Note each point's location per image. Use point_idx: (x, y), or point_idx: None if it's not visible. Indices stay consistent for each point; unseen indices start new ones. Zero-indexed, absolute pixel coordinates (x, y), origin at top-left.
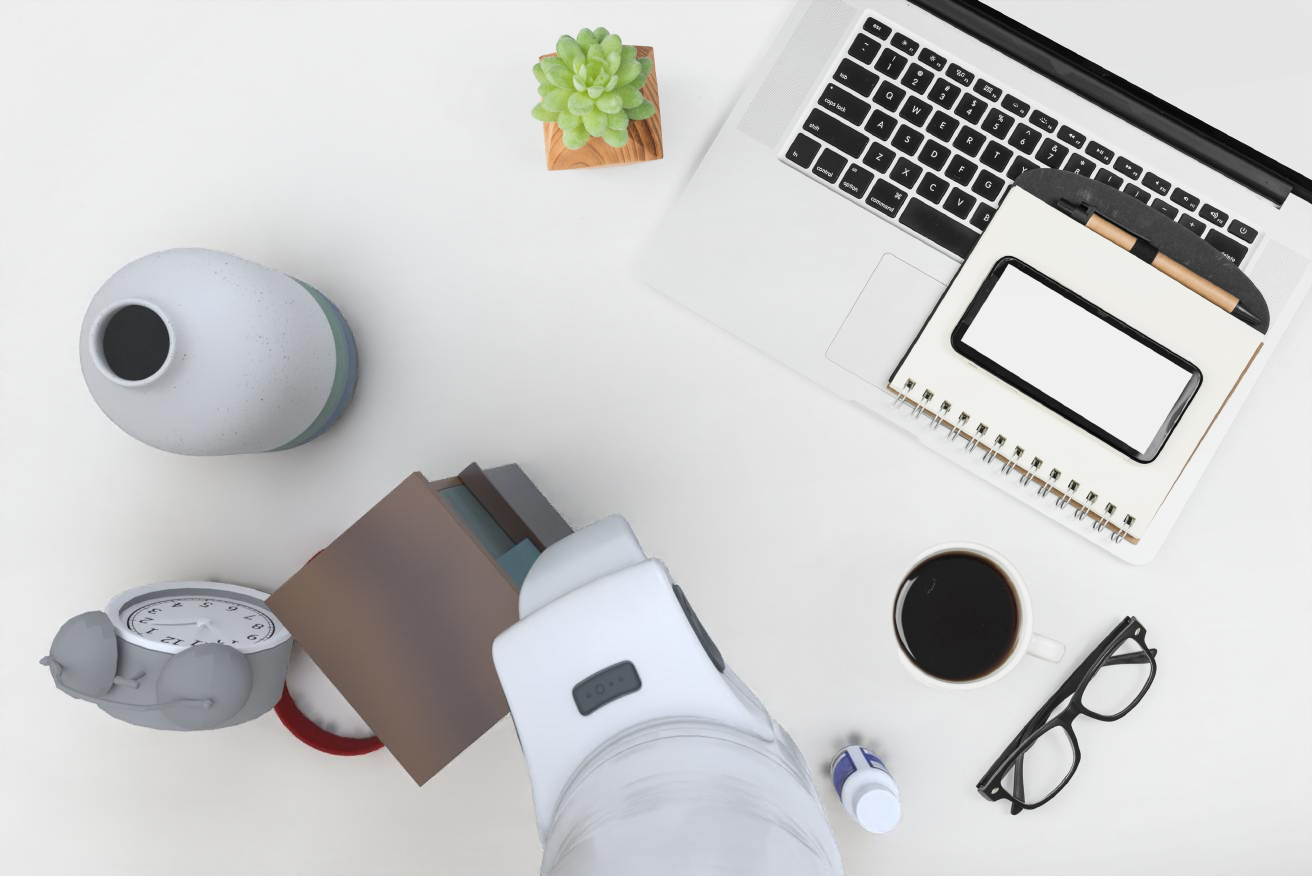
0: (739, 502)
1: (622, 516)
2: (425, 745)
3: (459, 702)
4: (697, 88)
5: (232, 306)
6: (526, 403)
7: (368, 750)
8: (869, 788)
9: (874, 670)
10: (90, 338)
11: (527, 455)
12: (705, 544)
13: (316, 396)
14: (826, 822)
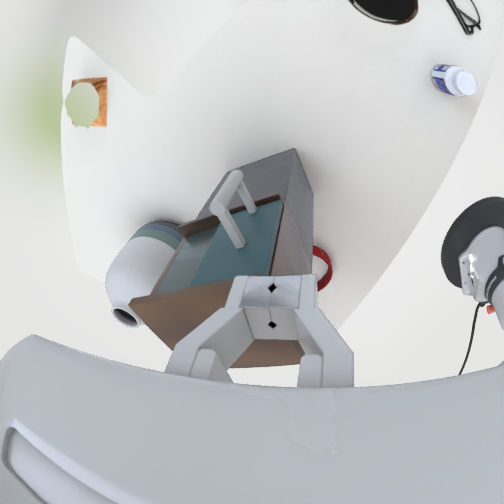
0: (280, 68)
1: (3, 357)
2: (283, 356)
3: (264, 339)
4: (86, 62)
5: (117, 282)
6: (199, 159)
7: (330, 275)
8: (455, 79)
9: (398, 41)
10: (125, 325)
11: (224, 165)
12: (298, 93)
13: (166, 254)
14: None
